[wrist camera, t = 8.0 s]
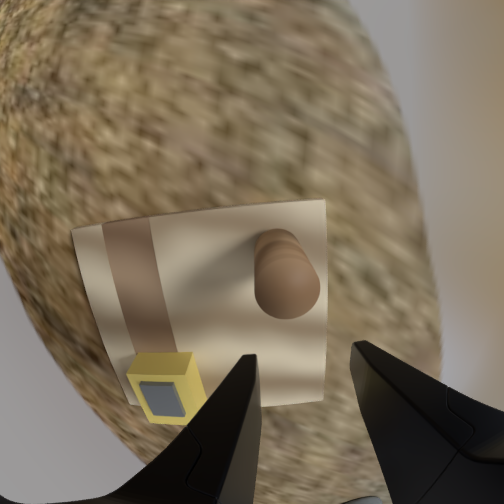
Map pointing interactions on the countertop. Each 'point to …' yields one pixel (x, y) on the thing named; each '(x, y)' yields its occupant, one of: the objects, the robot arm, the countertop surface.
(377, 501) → the water bottle
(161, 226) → the plywood panel
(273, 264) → the wooden tool handle
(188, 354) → the block
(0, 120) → the countertop surface
